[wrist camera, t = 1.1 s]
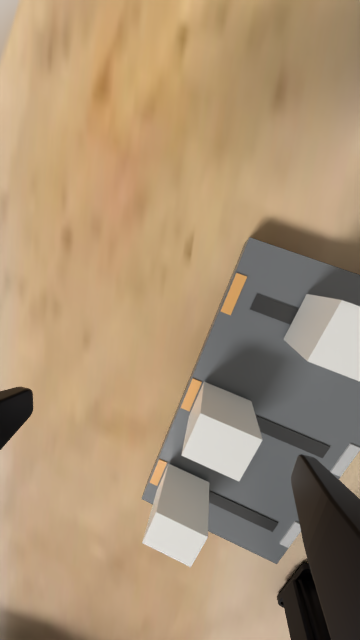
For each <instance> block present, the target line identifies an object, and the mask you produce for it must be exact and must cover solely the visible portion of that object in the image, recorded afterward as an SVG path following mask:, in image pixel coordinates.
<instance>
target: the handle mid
mask: <svg viewBox="0 0 360 640" xmlns="http://www.w3.org/2000/svg"><path fill="white" fill-rule="evenodd" d="M262 440H263V439H262V436H261V432H260V429H259V426H258V422H257V419H256V415H255V412H254V408H253V405H252V401H250V400H247V399H245V398H243V397H240V396H238V395H235V394H233V393H231V392H228V391H226V390H223V389H221V388H219V387H216V386H214V385H211V384H209V383H206V382H203V385H202V387H201V389H200V392H199V394H198V396H197V399H196V401H195V403H194V406H193V408H192V410H191V412H190V415H189V419H188V424H187V429H186V434H185V439H184V445H183V450H182V455H181V456H184V457H186V458H188V459H190V460H192V461H195V462H197V463H199V464H201V465H203V466H206V467H208V468H210V469H212V470H215V471H217V472H219V473H221V474H223V475H226V476H228V477H230V478H232V479H234V480H237V481H240V479H241V477H242V476H243V474H244V472H245V470H246V469H247V467H248V465H249V463H250V462H251V460H252V458H253V456H254V454H255V453H256V451H257V449H258V447H259V446H260V444H261V442H262Z"/></svg>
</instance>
